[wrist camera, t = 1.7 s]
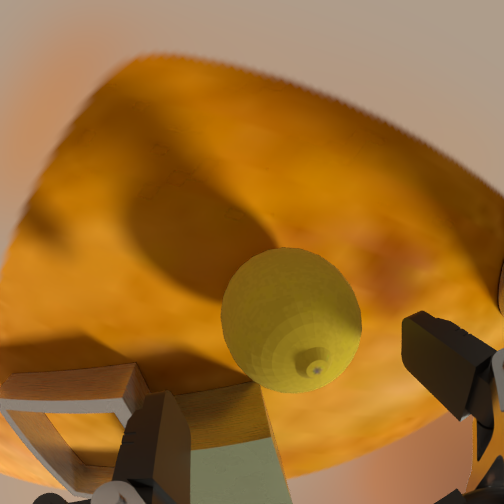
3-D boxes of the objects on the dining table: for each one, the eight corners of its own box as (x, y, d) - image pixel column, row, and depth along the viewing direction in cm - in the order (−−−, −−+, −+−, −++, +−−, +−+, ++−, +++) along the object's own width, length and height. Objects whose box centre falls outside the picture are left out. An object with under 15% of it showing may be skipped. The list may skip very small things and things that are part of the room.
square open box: (247, 340, 16) (259, 396, 12) (280, 457, 19) (292, 504, 14) (12, 373, 15) (-19, 409, 10) (82, 470, 18) (70, 507, 13)
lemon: (198, 278, 15) (182, 365, 8) (282, 212, 15) (348, 240, 7) (261, 347, 17) (291, 451, 9) (337, 290, 16) (417, 362, 9)
